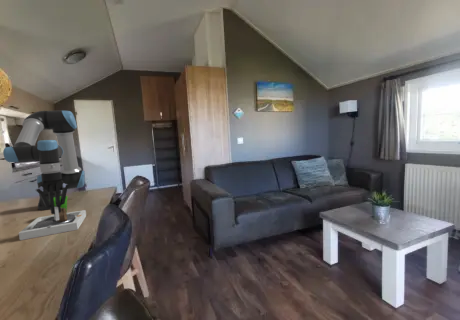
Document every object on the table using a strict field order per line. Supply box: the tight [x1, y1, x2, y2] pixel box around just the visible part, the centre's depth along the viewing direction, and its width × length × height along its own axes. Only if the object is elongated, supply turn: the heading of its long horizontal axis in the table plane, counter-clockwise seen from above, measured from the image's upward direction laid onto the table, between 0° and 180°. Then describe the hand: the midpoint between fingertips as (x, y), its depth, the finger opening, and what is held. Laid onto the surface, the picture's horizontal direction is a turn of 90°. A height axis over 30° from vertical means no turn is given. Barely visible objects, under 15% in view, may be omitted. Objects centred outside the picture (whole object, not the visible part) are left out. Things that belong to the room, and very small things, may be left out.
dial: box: [36, 208, 75, 229], centre depth 114 cm, size 16×16×8 cm
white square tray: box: [18, 209, 87, 241], centre depth 114 cm, size 22×22×4 cm
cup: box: [54, 195, 69, 213], centre depth 130 cm, size 9×9×11 cm
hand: (57, 219), depth 109 cm, fingers closed
